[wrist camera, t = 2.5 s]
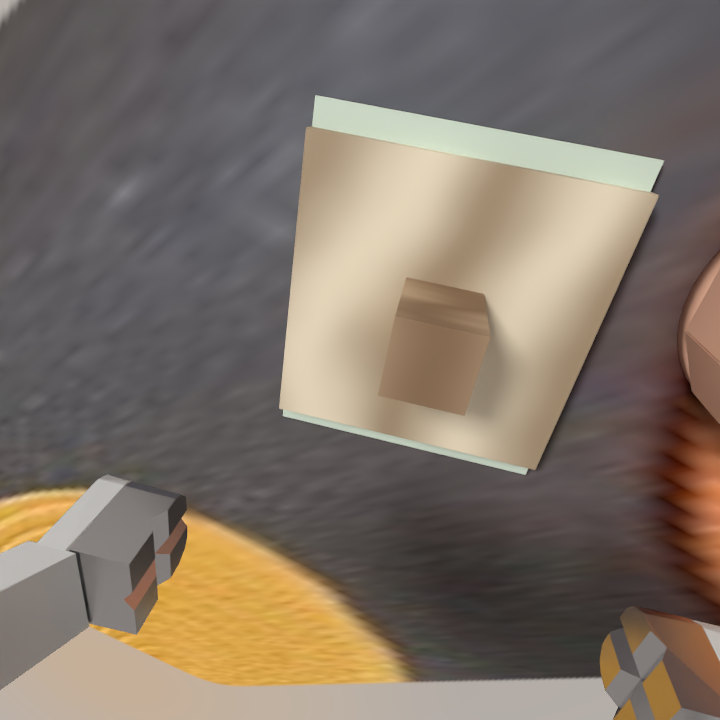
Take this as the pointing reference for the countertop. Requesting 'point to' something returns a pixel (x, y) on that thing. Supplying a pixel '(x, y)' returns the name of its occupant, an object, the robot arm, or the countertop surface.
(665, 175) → the countertop surface
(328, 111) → the mat
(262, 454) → the countertop surface
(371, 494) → the countertop surface
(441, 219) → the cover
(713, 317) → the bowl
